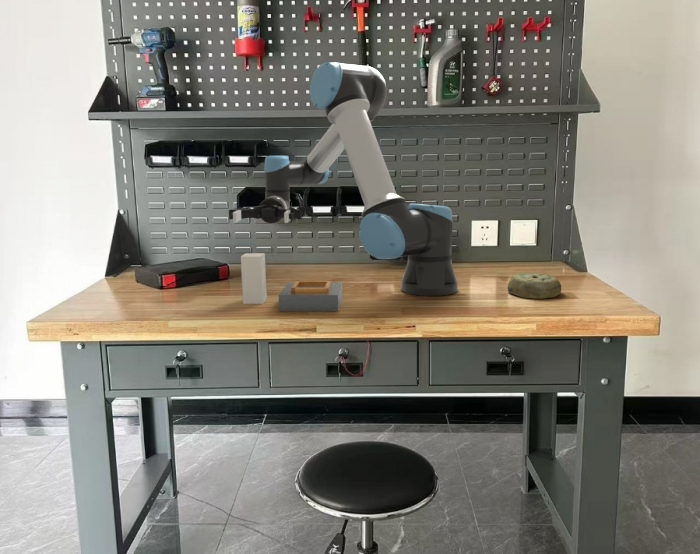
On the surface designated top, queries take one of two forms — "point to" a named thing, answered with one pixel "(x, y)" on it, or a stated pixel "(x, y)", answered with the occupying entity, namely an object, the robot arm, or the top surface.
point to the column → (253, 278)
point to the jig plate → (311, 296)
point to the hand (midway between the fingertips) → (260, 217)
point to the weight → (534, 286)
